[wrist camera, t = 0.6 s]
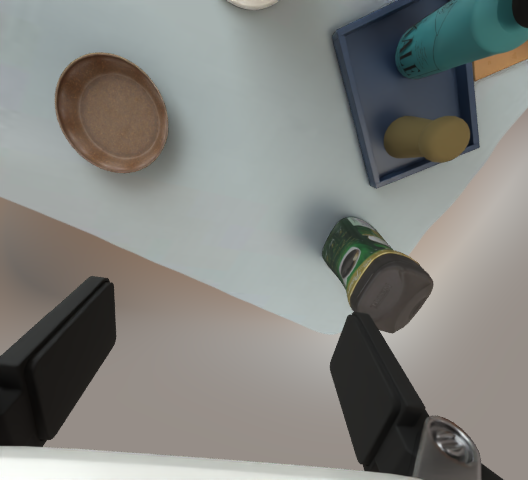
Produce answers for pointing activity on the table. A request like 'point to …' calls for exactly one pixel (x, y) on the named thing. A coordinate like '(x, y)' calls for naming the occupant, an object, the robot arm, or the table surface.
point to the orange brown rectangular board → (499, 61)
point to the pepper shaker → (427, 138)
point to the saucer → (111, 112)
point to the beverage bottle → (461, 35)
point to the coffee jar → (376, 274)
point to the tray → (397, 87)
